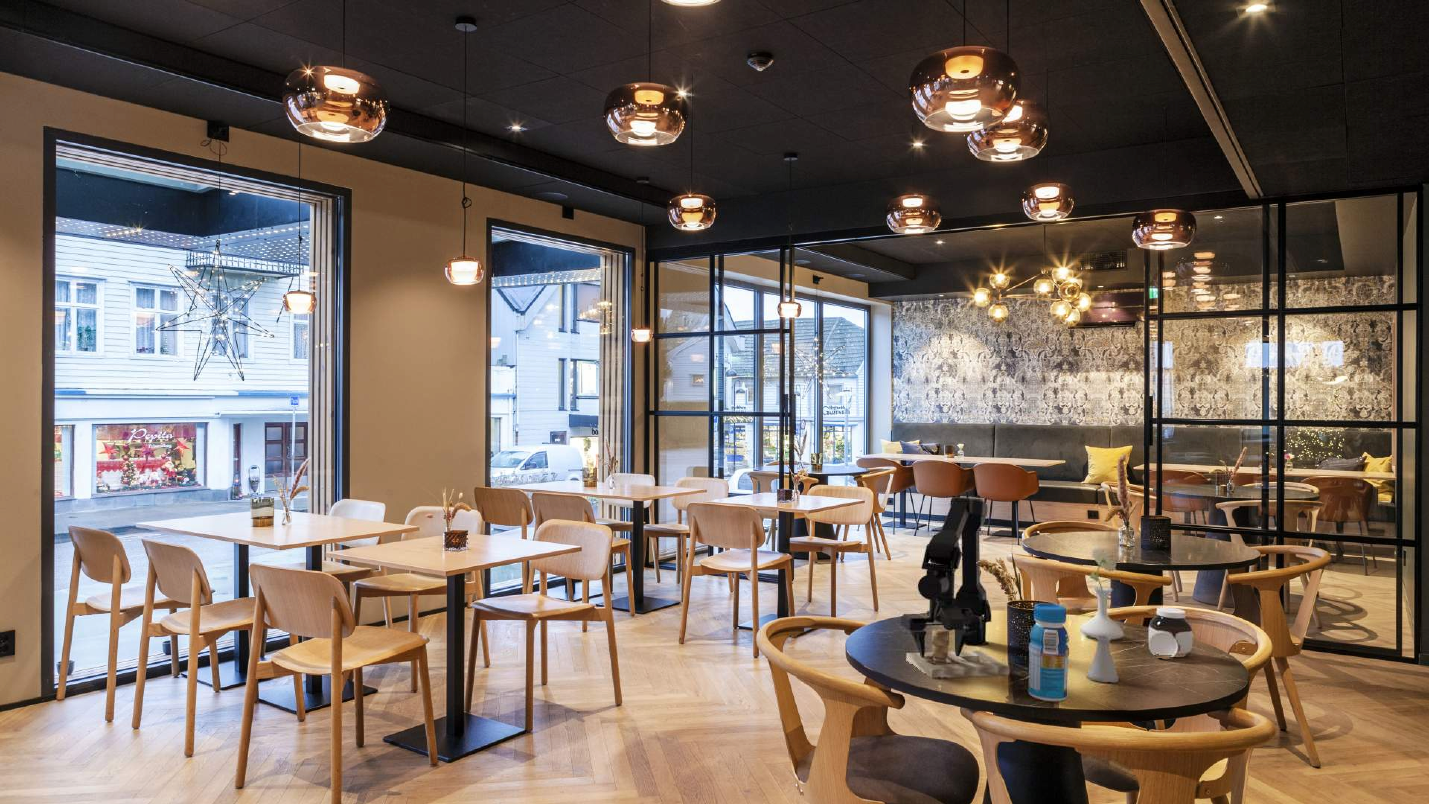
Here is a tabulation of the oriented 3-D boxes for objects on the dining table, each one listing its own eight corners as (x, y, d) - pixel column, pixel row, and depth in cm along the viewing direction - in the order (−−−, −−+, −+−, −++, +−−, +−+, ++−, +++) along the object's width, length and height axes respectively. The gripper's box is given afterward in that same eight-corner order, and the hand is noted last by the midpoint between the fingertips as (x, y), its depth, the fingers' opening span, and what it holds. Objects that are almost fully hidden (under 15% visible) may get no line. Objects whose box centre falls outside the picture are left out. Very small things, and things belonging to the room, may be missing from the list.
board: (979, 658, 235) (979, 649, 235) (1009, 674, 222) (1009, 665, 222) (906, 661, 231) (906, 652, 231) (931, 678, 217) (932, 668, 217)
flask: (1122, 685, 216) (1123, 642, 216) (1089, 682, 218) (1090, 639, 218) (1115, 676, 223) (1116, 634, 223) (1083, 673, 225) (1084, 632, 225)
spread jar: (1183, 651, 248) (1185, 608, 248) (1201, 663, 237) (1203, 617, 237) (1137, 649, 249) (1138, 605, 249) (1152, 660, 238) (1154, 615, 238)
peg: (943, 665, 228) (944, 629, 228) (951, 670, 224) (952, 633, 224) (928, 666, 227) (929, 629, 227) (935, 671, 223) (936, 633, 223)
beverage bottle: (1019, 694, 207) (1022, 604, 207) (1042, 688, 212) (1045, 600, 212) (1052, 705, 200) (1055, 612, 200) (1075, 698, 205) (1078, 608, 205)
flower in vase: (1130, 643, 255) (1133, 552, 254) (1089, 642, 255) (1091, 551, 255) (1111, 631, 268) (1113, 544, 267) (1071, 630, 268) (1073, 543, 268)
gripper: (920, 600, 215) (918, 667, 215) (994, 599, 219) (992, 665, 219) (900, 590, 226) (898, 654, 226) (970, 589, 230) (968, 652, 230)
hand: (940, 656), depth 225 cm, fingers open, 9 cm apart
